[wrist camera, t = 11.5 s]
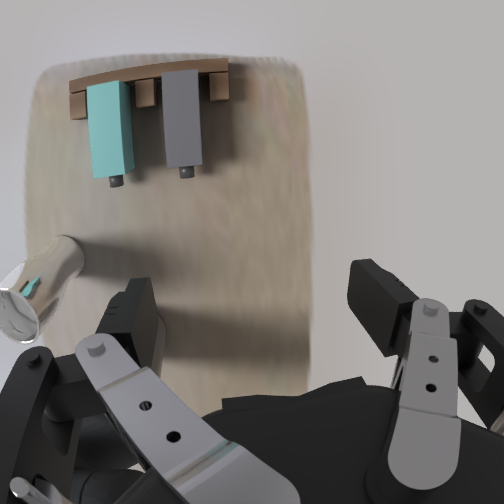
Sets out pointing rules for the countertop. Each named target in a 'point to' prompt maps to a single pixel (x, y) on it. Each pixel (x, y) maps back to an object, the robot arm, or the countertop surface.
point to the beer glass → (38, 289)
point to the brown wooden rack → (150, 82)
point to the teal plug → (110, 131)
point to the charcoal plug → (182, 120)
